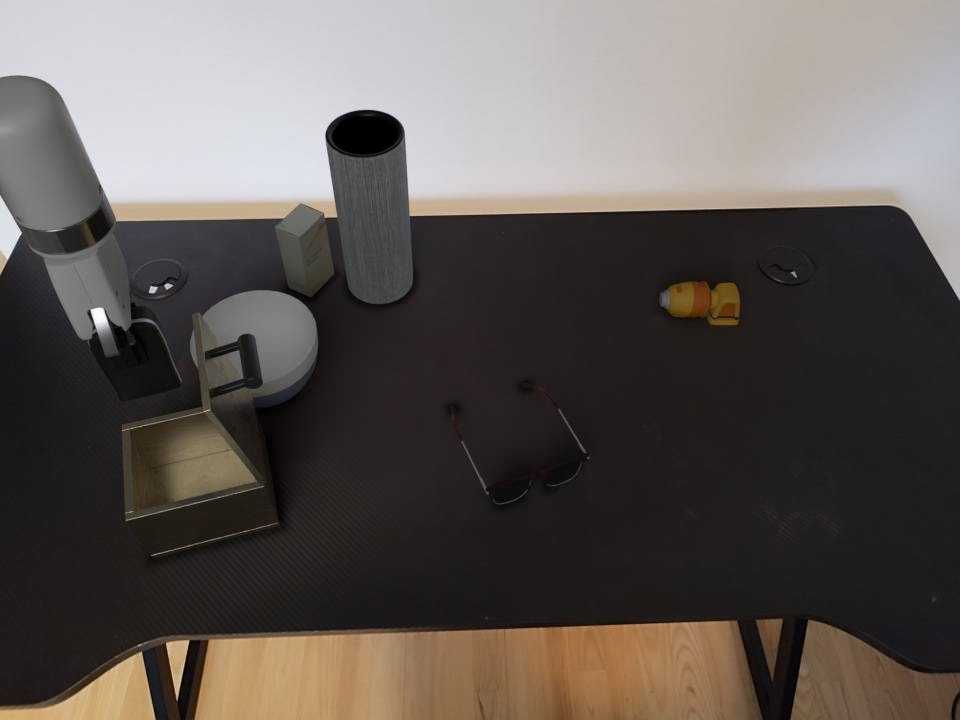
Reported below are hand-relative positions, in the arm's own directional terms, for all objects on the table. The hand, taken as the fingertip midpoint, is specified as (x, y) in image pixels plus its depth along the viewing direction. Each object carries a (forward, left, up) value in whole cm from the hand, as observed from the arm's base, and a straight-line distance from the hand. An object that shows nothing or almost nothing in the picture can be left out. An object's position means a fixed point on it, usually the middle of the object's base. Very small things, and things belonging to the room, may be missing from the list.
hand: (131, 346), depth 84 cm
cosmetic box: (+21, +26, -22) cm, 40 cm away
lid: (+8, -7, -4) cm, 11 cm away
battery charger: (0, 0, -7) cm, 7 cm away
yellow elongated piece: (+75, +4, -22) cm, 78 cm away
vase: (+31, +23, -22) cm, 44 cm away
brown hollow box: (+3, -7, -22) cm, 23 cm away
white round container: (+12, +9, -22) cm, 27 cm away
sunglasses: (+41, -10, -22) cm, 47 cm away
